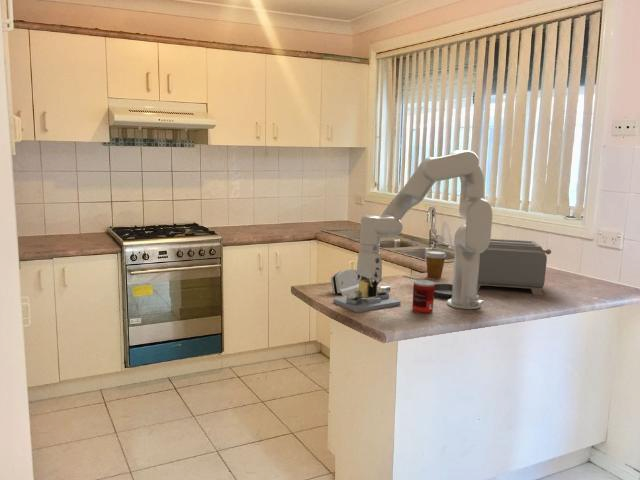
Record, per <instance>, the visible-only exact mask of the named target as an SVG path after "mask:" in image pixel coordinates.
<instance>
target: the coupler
mask: <svg viewBox="0 0 640 480" xmlns="http://www.w3.org/2000/svg"><path fill="white" fill-rule="evenodd" d="M373 282H374V280H373ZM369 287H370V280H369V279H368V278H365V279H364V280H359V290H360V291H361V293H362V295H361V296H362V297H364V298H372V297H369ZM377 287H378V286H376V296H374V297H377Z"/></svg>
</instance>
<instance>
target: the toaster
mask: <svg viewBox="0 0 640 480" xmlns="http://www.w3.org/2000/svg"><path fill="white" fill-rule="evenodd" d="M551 253H552V249H550V248H547V249H546V250H544V249H543V247H542V246H541V245H539V243H537V242H536V241H535V240H520V239H519V240H516V239H501V238H491V239H490V244H489V246H488V248H487V249H486V250H485V251H484V252H483V253H480V266H479V278H478V290H477V291H479V290H480V287H481V286H489V287H490V286H491V287H502V288H516V289H518V288H519V289H520V288H521V289H529V290H530V292H531V294H532V295H537V296H544V292H543V287H544V286H545V281H546V280H545V279H546V271H547V261H548V256H547V255H550V254H551Z"/></svg>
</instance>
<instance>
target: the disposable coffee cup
mask: <svg viewBox="0 0 640 480" xmlns="http://www.w3.org/2000/svg"><path fill="white" fill-rule="evenodd" d="M446 257H447V254H446V252H444V251H441V250H426V253H425V259H426V273H427V275H426V276H427V278H428V279H433V280H436V279H437V280H439V279H441V278H442V274H443V270H444V264H445V259H446Z"/></svg>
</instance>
